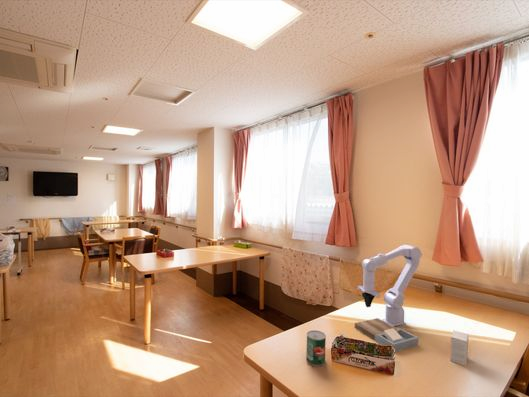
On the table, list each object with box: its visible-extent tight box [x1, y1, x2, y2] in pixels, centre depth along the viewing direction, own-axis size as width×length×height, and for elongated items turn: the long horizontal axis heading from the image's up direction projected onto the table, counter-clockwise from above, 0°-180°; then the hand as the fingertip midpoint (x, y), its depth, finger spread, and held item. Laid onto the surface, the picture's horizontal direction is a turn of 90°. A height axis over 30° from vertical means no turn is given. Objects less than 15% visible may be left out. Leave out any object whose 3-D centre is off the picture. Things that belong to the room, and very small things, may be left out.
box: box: [374, 328, 419, 353], centre depth 136 cm, size 16×11×4 cm
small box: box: [450, 330, 469, 367], centre depth 123 cm, size 8×6×10 cm
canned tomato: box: [305, 330, 327, 367], centre depth 120 cm, size 8×8×11 cm
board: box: [354, 318, 400, 341], centre depth 148 cm, size 16×14×2 cm
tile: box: [383, 328, 402, 343], centre depth 138 cm, size 6×6×2 cm
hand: (368, 306), depth 156 cm, fingers closed
